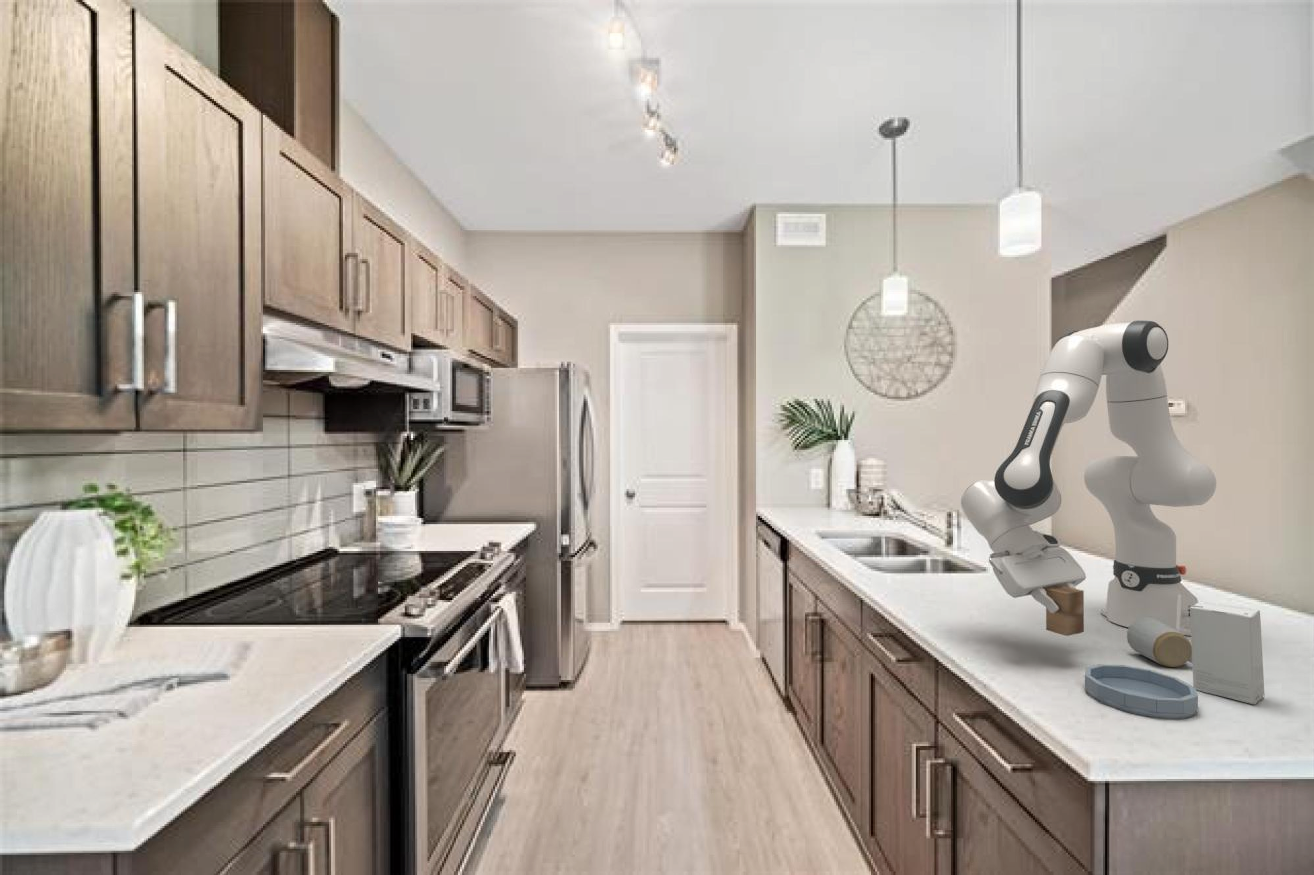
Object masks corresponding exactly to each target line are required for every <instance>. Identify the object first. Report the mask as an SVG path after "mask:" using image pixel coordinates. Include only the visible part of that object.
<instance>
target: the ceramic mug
mask: <svg viewBox="0 0 1314 875" xmlns="http://www.w3.org/2000/svg"><path fill="white" fill-rule="evenodd" d="M1127 628H1128V629H1127V631H1126V639H1127V643H1128V645H1129V646H1130V647H1131V649H1132V650H1133V651H1135V652H1136V653H1137V654H1139V655H1141V656H1144V657H1145V658H1147V659H1149V660H1151V661H1153V662H1155V663H1157V664H1159V665H1161V666H1164V667H1166V668H1167V667H1168V668H1177V667H1181V666H1183V665H1185V664H1186V663H1187V662H1189V663H1190V664H1192V647H1191V641H1190V640H1189V639H1188V638H1187V636H1186V635H1183V634H1181V633H1180V632H1179V631H1177V630H1175V629H1173V628H1171V627H1169V626H1168V625H1166V624H1164V623H1162V622H1160V621H1159V620H1157V619H1154V618H1150V617H1143V618H1139V619H1137V620H1135V621H1134V622H1133V623H1132V624H1131V625H1130V626H1129V627H1127Z"/></svg>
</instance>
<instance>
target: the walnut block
mask: <svg viewBox="0 0 1314 875" xmlns="http://www.w3.org/2000/svg"><path fill="white" fill-rule="evenodd" d="M1084 592H1085V591H1084V590H1083V589H1079V588H1078V589H1077V588H1076V589H1074V588H1070V587H1065V586H1060V587H1054V588H1049V589H1046V593H1045V594H1046V595H1048V596H1049V597H1050V598H1051V599H1052V600H1054V601H1055V600H1057V602H1058V603H1059V605H1061V607H1062V609H1061V610H1060V611H1059V612H1056V613H1050V612H1049V610H1048V609H1047V608H1046V607H1045V613H1046V615H1045V619H1046V620H1045V622H1046V623H1045V624H1046V626H1045V627H1046V628H1045V630H1046V631H1048V632H1052V633H1056V634H1059V635H1062V636H1066V637H1070V636H1073V635H1077V634H1082V633H1084V632H1085V629H1084V628H1085V623H1084V622H1085V620H1084V619H1085V618H1084V617H1085V614H1084V613H1085V612H1084V611H1085V609H1084V608H1085V605H1084V601H1085V600H1084V599H1085V598H1084Z"/></svg>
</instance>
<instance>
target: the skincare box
mask: <svg viewBox="0 0 1314 875" xmlns="http://www.w3.org/2000/svg"><path fill="white" fill-rule="evenodd" d="M1261 622H1262V621H1261V610H1260V609H1254V608H1248V607H1240V606H1233V605H1225V604H1220V603H1214V602H1213V603H1212V602H1206V601H1202V600H1201V601H1198V603H1197V604H1195V605H1193V606H1191V607H1190V626H1191V636H1190V643H1191V647H1192V663H1191V664H1192V684H1193V685H1192V686H1193V687H1195V689H1196V691H1197V692H1198V691H1199V692H1203V693H1206V694H1211V695H1215V696H1219V697H1224V698H1227V699H1231V700H1235V701H1239V702H1242V703H1246V704H1250V705H1256V703H1258V702H1260V701H1261V700H1263V698H1264V696H1265V678H1264V677H1265V676H1264V663H1263V642H1262V625H1261Z"/></svg>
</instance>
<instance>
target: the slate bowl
mask: <svg viewBox="0 0 1314 875" xmlns="http://www.w3.org/2000/svg"><path fill="white" fill-rule="evenodd" d="M1084 690H1085V693H1087V695H1088V696H1089V697H1091V699H1092V698H1093V699H1094V700H1095V701H1097V702H1099V703H1102V704H1103V705H1105V706H1109V707H1110V708H1113V709H1117V710H1119V711H1122V712H1125V713H1128V714H1134V715H1138V716H1143V717H1146V718H1147V717H1148V718H1155V719H1162V720H1185V719H1189V718H1194V716H1195V715H1196V714H1197V713H1198V712H1197V711H1198V709H1199V695H1198V693H1197V692H1198V691H1197V690H1196V689H1195V687H1194V686H1193V685H1191V684H1189V683H1187V682H1185V681H1184V680H1182V679H1180V678H1178V677H1175V676H1171V675H1169V674H1165V673H1164V672H1163V673H1162V672H1159V671H1155V670H1153V669H1147V668H1142V667H1136V666H1130V665H1125V664H1105V663H1104V664H1101V663H1099V664H1095V665H1091V666H1086V667H1085V668H1084Z"/></svg>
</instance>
